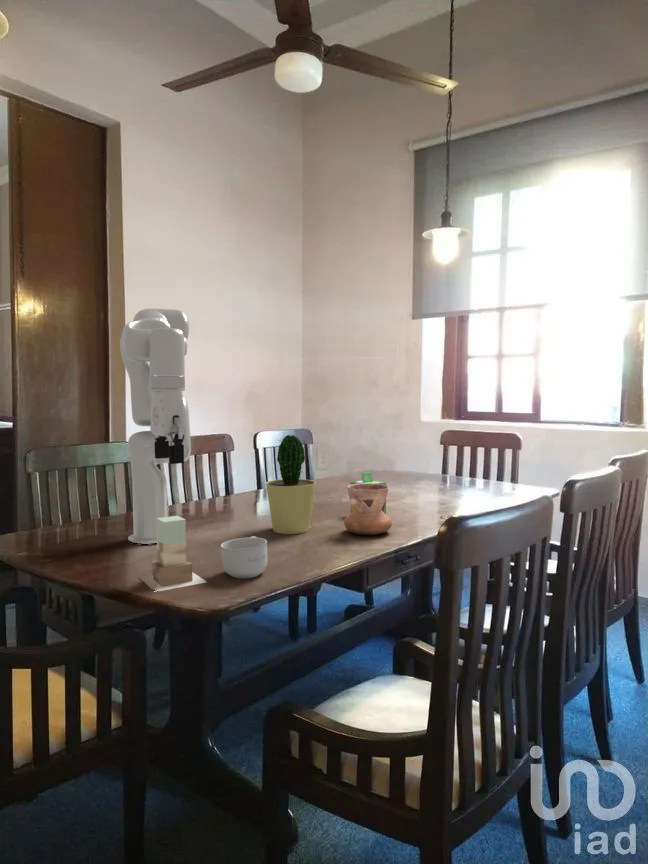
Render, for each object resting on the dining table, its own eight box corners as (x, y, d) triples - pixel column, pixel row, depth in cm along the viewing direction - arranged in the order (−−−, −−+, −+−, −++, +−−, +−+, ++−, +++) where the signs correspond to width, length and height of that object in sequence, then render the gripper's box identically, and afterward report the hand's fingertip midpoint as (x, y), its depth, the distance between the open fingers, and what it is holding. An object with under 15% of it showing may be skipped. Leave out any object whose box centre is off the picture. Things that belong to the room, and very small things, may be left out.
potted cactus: (255, 530, 189) (254, 433, 187) (290, 522, 200) (289, 430, 198) (291, 538, 179) (291, 435, 177) (326, 529, 190) (325, 432, 188)
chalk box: (368, 519, 204) (368, 475, 203) (349, 515, 211) (349, 472, 210) (387, 515, 210) (387, 472, 209) (368, 511, 217) (368, 469, 216)
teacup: (254, 584, 137) (253, 549, 136) (212, 579, 141) (211, 545, 140) (281, 567, 150) (280, 535, 149) (242, 563, 154) (241, 531, 153)
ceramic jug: (372, 541, 175) (372, 492, 174) (331, 534, 184) (331, 487, 183) (405, 530, 189) (405, 484, 188) (366, 523, 198) (366, 480, 197)
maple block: (157, 561, 140) (156, 540, 139) (178, 558, 142) (177, 537, 142) (164, 566, 136) (163, 544, 135) (186, 563, 138) (185, 541, 138)
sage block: (156, 539, 139) (156, 518, 139) (178, 536, 142) (177, 515, 142) (164, 544, 135) (163, 522, 135) (185, 541, 138) (185, 519, 138)
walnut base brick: (152, 578, 140) (151, 561, 140) (181, 573, 144) (181, 556, 144) (162, 586, 134) (161, 568, 134) (192, 581, 138) (192, 563, 138)
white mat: (137, 579, 141) (137, 577, 141) (187, 570, 148) (187, 569, 147) (154, 593, 131) (154, 591, 131) (207, 583, 137) (207, 582, 137)
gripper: (139, 383, 141) (140, 457, 143) (163, 385, 127) (165, 467, 128) (170, 383, 145) (172, 455, 147) (198, 384, 131) (199, 464, 133)
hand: (169, 460), depth 138 cm, fingers open, 9 cm apart
